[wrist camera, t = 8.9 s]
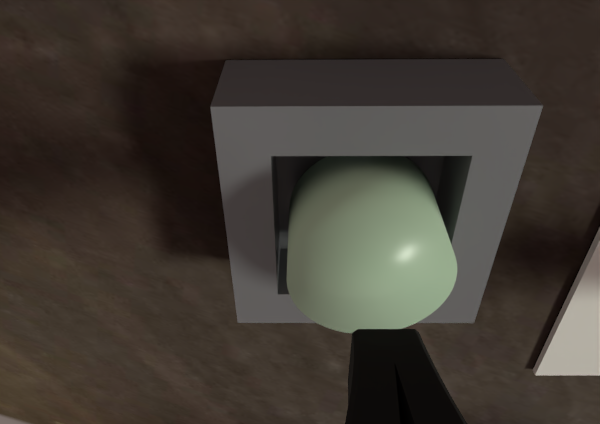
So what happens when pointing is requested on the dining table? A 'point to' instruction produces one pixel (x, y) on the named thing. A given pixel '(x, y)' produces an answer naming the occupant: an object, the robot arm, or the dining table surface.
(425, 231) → the button
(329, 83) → the button housing
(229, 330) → the dining table surface
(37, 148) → the dining table surface
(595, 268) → the paper
